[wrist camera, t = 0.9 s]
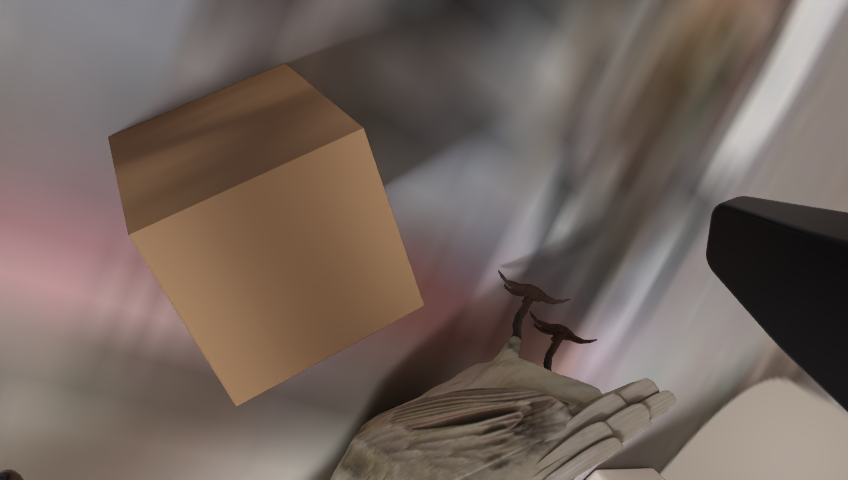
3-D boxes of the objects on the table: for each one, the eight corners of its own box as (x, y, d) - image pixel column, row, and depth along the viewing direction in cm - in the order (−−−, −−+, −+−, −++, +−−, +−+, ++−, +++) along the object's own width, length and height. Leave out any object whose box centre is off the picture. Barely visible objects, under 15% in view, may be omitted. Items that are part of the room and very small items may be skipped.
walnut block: (193, 281, 20) (235, 406, 16) (107, 136, 18) (128, 235, 13) (342, 209, 21) (424, 305, 17) (284, 62, 19) (363, 127, 14)
